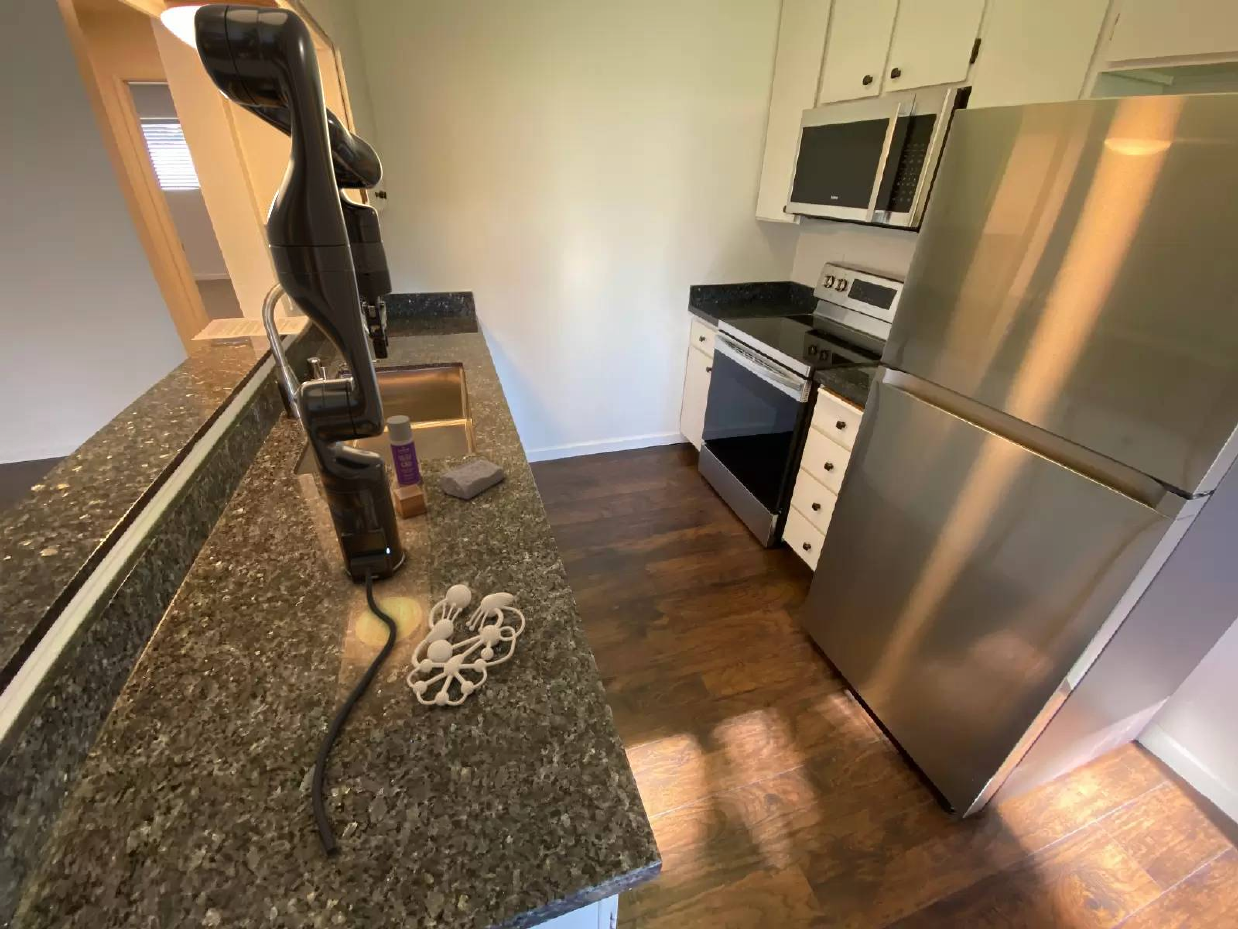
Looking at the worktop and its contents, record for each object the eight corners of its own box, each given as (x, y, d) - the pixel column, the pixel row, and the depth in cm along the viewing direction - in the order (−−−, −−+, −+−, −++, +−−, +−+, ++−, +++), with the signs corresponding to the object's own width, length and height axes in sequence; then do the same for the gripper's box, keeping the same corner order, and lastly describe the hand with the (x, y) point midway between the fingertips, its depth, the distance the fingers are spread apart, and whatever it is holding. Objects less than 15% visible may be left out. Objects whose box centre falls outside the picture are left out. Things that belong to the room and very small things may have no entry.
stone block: (437, 496, 113) (468, 502, 108) (432, 475, 112) (463, 480, 106) (477, 475, 122) (508, 480, 117) (473, 456, 121) (504, 460, 115)
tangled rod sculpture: (488, 725, 65) (488, 705, 63) (380, 701, 67) (376, 680, 64) (534, 612, 82) (535, 593, 80) (447, 594, 83) (445, 575, 81)
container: (406, 489, 112) (393, 425, 105) (393, 482, 114) (381, 419, 107) (425, 481, 115) (414, 418, 108) (412, 474, 118) (401, 413, 111)
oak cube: (426, 512, 105) (422, 493, 103) (403, 519, 102) (399, 500, 100) (418, 502, 108) (415, 484, 106) (397, 508, 105) (393, 490, 103)
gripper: (347, 262, 102) (364, 344, 110) (340, 273, 90) (360, 364, 98) (389, 262, 104) (402, 342, 112) (387, 272, 93) (402, 360, 100)
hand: (382, 352), depth 105 cm, fingers open, 8 cm apart
